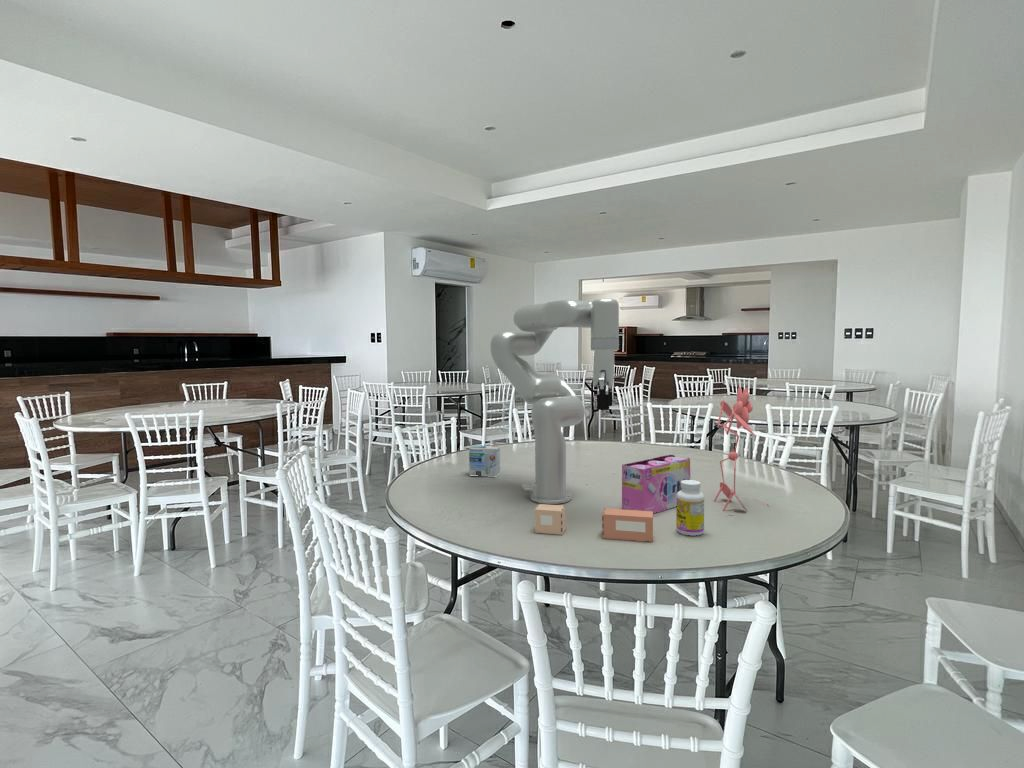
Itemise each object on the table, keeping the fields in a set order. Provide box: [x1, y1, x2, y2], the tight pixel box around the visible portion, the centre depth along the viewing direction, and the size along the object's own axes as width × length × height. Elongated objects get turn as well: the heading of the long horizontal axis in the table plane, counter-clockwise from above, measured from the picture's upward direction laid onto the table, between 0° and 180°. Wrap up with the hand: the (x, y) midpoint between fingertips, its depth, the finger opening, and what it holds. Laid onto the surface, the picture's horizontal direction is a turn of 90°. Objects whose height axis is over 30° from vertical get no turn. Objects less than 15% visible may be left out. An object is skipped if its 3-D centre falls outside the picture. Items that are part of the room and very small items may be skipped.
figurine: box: [713, 386, 770, 517], centre depth 157 cm, size 15×26×35 cm, turn 175°
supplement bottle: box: [675, 479, 705, 537], centre depth 136 cm, size 7×7×13 cm
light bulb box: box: [468, 444, 501, 476], centre depth 200 cm, size 11×7×11 cm, turn 81°
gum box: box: [621, 454, 692, 514], centre depth 158 cm, size 24×8×14 cm, turn 127°
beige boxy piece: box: [534, 503, 567, 536], centre depth 138 cm, size 7×5×6 cm
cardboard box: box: [601, 507, 654, 543], centre depth 133 cm, size 12×5×6 cm, turn 75°
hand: (604, 407), depth 148 cm, fingers open, 9 cm apart
